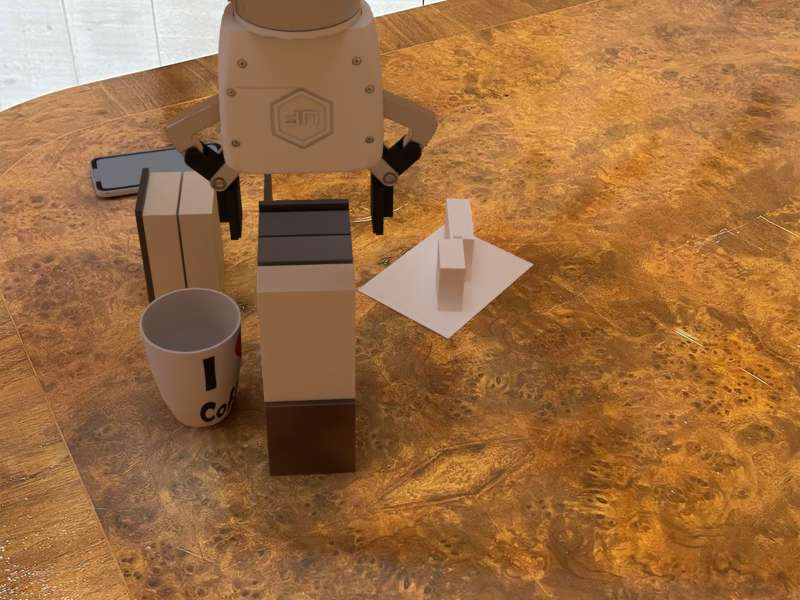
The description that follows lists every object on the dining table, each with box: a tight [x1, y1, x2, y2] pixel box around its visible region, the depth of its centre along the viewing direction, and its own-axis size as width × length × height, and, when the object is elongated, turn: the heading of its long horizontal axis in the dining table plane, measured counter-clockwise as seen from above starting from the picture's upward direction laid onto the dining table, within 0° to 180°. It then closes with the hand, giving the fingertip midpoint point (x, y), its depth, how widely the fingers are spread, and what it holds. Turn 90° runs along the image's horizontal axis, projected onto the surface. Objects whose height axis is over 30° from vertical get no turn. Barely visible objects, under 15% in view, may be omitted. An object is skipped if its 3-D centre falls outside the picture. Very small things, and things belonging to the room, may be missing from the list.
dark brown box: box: [264, 398, 357, 476], centre depth 89 cm, size 7×12×8 cm, turn 5°
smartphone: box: [89, 141, 222, 198], centre depth 120 cm, size 7×1×15 cm
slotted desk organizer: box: [134, 168, 274, 305], centre depth 102 cm, size 12×7×12 cm, turn 95°
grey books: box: [256, 198, 354, 267], centre depth 84 cm, size 7×7×12 cm
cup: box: [138, 288, 243, 428], centre depth 89 cm, size 8×8×10 cm
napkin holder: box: [357, 198, 535, 339], centre depth 105 cm, size 15×11×6 cm
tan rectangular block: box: [255, 263, 357, 403], centre depth 80 cm, size 7×3×11 cm, turn 95°
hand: (307, 226), depth 73 cm, fingers open, 9 cm apart
